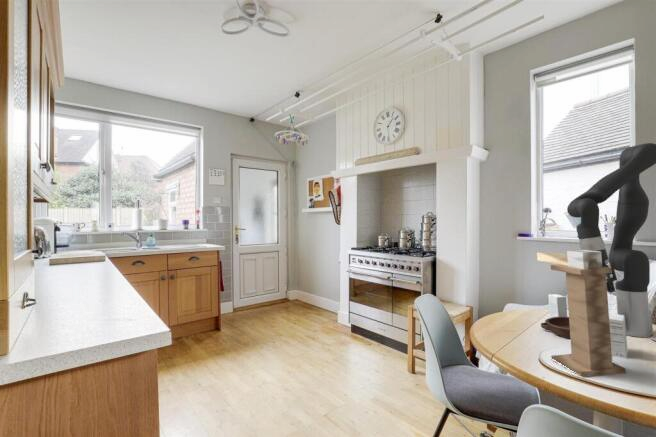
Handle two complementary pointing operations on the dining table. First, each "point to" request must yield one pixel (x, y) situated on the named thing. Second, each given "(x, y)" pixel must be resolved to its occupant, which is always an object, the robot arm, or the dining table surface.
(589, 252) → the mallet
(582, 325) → the wooden i-beam column
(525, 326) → the dining table surface
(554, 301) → the skincare box
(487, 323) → the dining table surface
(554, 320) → the dish
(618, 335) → the supplement box
